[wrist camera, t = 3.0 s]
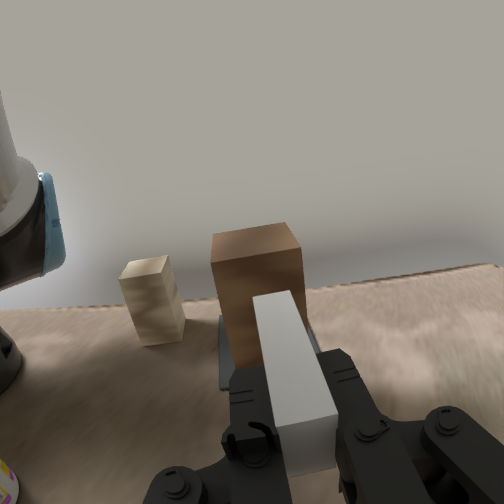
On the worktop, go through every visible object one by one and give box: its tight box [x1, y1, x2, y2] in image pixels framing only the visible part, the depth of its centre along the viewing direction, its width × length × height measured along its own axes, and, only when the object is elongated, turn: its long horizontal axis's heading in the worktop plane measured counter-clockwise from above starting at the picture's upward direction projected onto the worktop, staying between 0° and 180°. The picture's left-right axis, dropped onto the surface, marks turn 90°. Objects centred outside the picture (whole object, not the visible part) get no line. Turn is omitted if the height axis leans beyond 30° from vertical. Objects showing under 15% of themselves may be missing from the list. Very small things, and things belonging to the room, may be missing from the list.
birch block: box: [118, 255, 186, 346], centre depth 37 cm, size 5×5×9 cm
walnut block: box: [211, 222, 309, 370], centre depth 23 cm, size 5×5×15 cm
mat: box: [219, 315, 320, 390], centre depth 34 cm, size 10×13×1 cm
